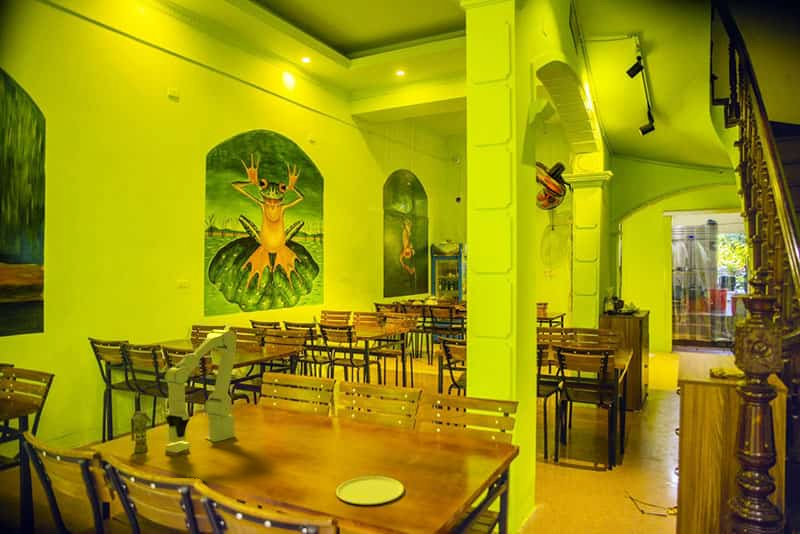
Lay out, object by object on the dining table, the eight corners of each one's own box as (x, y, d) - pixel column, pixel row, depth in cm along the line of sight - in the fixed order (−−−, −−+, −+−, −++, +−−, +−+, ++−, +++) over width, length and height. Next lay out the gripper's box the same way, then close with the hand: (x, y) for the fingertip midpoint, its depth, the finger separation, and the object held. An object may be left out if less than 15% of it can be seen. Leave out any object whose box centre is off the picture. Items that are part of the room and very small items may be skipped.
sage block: (180, 437, 209) (180, 424, 209) (186, 439, 206) (185, 426, 206) (168, 440, 206) (168, 427, 206) (174, 442, 203) (174, 429, 203)
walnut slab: (179, 451, 210) (179, 445, 210) (189, 453, 207) (189, 448, 207) (165, 455, 205) (165, 450, 205) (175, 458, 202) (175, 452, 202)
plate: (418, 495, 164) (418, 491, 164) (358, 514, 152) (358, 510, 152) (380, 474, 181) (379, 471, 181) (323, 490, 169) (323, 486, 169)
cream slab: (179, 445, 210) (179, 440, 210) (189, 447, 207) (189, 442, 207) (165, 450, 205) (165, 445, 205) (176, 452, 202) (176, 447, 202)
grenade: (142, 454, 205) (141, 414, 205) (126, 453, 207) (125, 413, 207) (154, 447, 212) (153, 409, 212) (139, 446, 214) (138, 408, 214)
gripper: (157, 398, 208) (158, 434, 208) (175, 404, 198) (176, 442, 198) (176, 395, 213) (176, 430, 213) (193, 400, 203) (194, 437, 203)
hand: (177, 435), depth 206 cm, fingers closed on sage block, 4 cm apart
